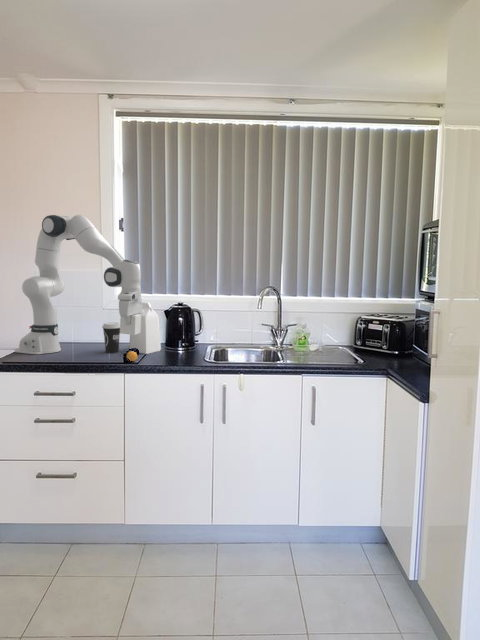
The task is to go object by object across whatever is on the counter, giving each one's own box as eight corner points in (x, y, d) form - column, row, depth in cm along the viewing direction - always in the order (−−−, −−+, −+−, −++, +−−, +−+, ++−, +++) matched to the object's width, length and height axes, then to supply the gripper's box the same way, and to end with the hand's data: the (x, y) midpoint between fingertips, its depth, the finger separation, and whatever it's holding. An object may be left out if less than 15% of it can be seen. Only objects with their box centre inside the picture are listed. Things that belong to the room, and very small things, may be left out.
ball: (135, 352, 215) (135, 362, 216) (138, 350, 220) (138, 360, 220) (124, 351, 216) (125, 362, 216) (128, 349, 220) (129, 360, 221)
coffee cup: (110, 354, 234) (109, 325, 232) (98, 351, 240) (98, 323, 238) (125, 351, 242) (124, 323, 240) (113, 349, 247) (113, 321, 245)
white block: (119, 333, 213) (120, 314, 212) (125, 331, 221) (126, 313, 219) (134, 334, 213) (135, 316, 211) (140, 332, 220) (141, 314, 218)
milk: (160, 350, 246) (160, 302, 243) (146, 354, 236) (145, 303, 233) (144, 347, 252) (143, 301, 249) (129, 351, 242) (128, 302, 239)
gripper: (133, 293, 225) (133, 320, 227) (116, 296, 205) (116, 326, 206) (145, 293, 224) (145, 321, 226) (129, 296, 204) (130, 327, 206)
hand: (131, 324), depth 216 cm, fingers closed on white block, 7 cm apart
